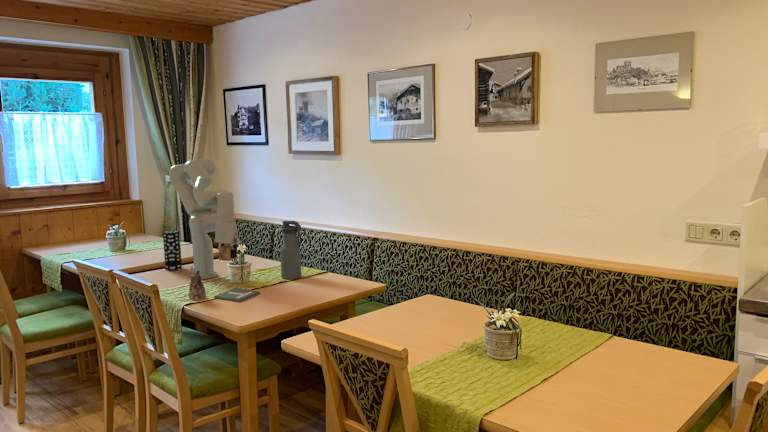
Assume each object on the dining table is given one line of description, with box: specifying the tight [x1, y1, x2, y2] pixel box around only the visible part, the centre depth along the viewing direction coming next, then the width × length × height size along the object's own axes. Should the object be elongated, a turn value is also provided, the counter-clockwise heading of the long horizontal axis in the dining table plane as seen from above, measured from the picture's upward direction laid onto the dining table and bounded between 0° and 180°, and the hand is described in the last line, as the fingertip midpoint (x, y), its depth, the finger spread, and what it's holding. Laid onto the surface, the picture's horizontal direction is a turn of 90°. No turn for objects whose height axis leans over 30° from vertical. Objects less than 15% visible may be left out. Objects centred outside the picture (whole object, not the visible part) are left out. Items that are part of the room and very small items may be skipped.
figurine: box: [188, 270, 207, 301], centre depth 263 cm, size 7×7×12 cm
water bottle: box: [279, 220, 302, 280], centre depth 295 cm, size 10×10×28 cm
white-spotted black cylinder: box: [162, 229, 183, 272], centre depth 315 cm, size 8×8×20 cm
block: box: [217, 244, 239, 262], centre depth 280 cm, size 6×6×6 cm
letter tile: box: [213, 287, 261, 303], centre depth 266 cm, size 14×14×1 cm
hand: (228, 256), depth 280 cm, fingers closed on block, 6 cm apart
